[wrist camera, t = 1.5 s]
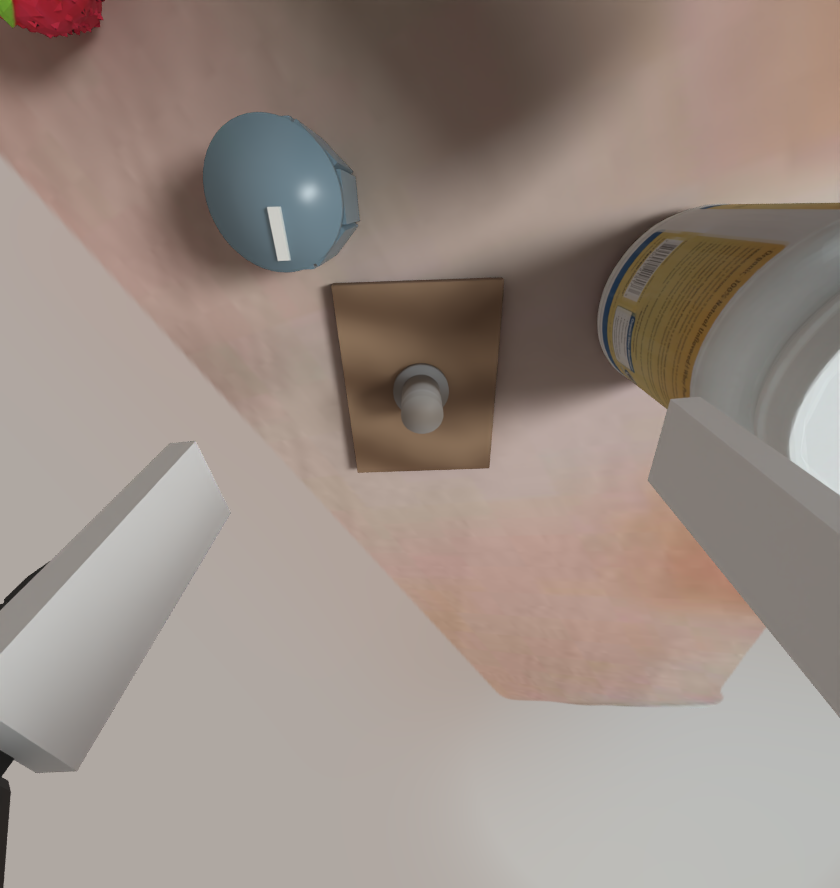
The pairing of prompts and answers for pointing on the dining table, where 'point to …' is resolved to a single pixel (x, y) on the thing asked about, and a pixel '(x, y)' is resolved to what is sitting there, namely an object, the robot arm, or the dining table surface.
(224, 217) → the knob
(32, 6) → the strawberry
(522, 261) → the dining table surface
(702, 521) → the robot arm
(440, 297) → the stud board
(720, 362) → the supplement tub
